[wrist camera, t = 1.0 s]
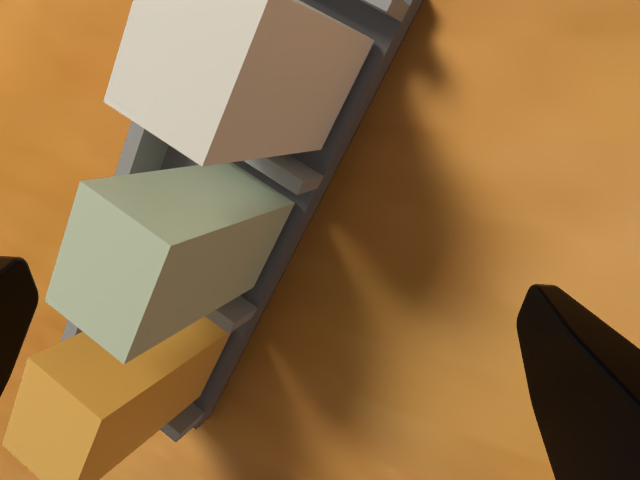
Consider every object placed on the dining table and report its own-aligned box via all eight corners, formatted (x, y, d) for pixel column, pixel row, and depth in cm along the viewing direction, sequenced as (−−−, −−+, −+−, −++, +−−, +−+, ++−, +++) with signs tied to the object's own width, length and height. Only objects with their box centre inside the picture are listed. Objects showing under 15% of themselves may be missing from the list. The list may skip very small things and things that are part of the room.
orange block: (232, 328, 24) (102, 420, 17) (199, 396, 26) (67, 505, 18) (176, 287, 25) (28, 357, 17) (148, 355, 26) (2, 444, 19)
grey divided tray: (426, -7, 19) (406, -30, 16) (209, 417, 28) (171, 451, 25) (256, -91, 21) (211, -125, 18) (102, 332, 29) (55, 356, 26)
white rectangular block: (374, 40, 18) (271, -11, 11) (321, 149, 20) (201, 166, 13) (297, -1, 19) (154, -73, 12) (251, 107, 21) (103, 101, 14)
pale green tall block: (295, 202, 21) (170, 245, 14) (253, 287, 23) (123, 364, 16) (229, 160, 22) (79, 181, 15) (194, 245, 24) (44, 300, 16)
